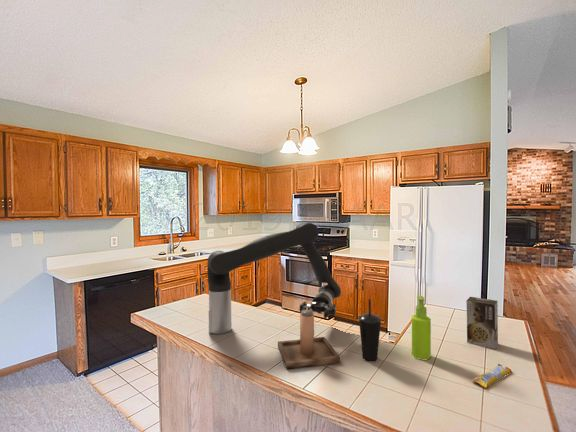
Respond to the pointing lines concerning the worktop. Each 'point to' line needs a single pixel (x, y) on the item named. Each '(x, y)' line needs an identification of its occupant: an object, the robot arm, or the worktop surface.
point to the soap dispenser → (421, 332)
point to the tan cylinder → (307, 332)
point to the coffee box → (482, 322)
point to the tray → (296, 360)
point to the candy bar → (492, 376)
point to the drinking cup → (369, 334)
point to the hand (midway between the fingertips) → (313, 314)
